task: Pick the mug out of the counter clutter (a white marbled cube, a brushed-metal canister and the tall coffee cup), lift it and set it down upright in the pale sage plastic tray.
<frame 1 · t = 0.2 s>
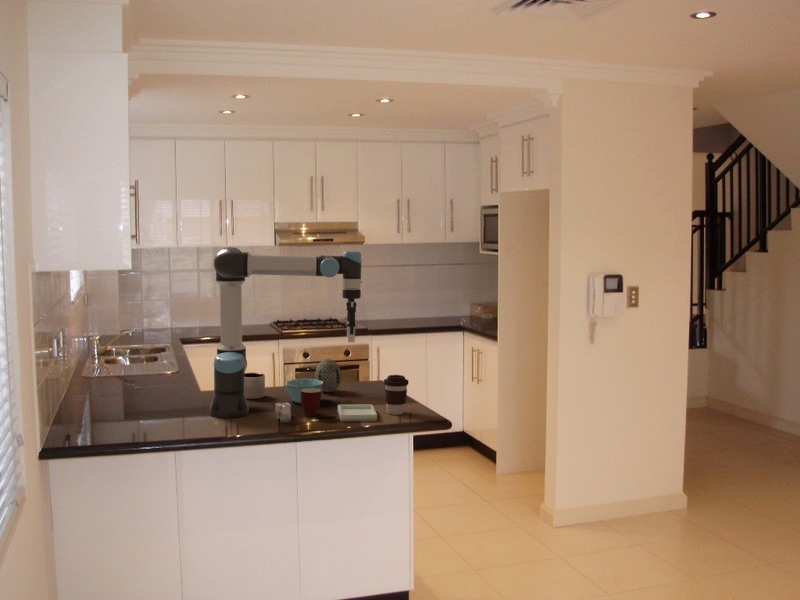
hand: (350, 339, 340), 27 cm above the countertop, fingers open, 13 cm apart
mug: (310, 414, 325), on the countertop
bowl: (304, 401, 348), on the countertop
tray: (356, 415, 325), on the countertop
planter: (252, 397, 353), on the countertop
coffee cup: (395, 413, 331), on the countertop
decorative egg: (327, 392, 366), on the countertop
white marbled cube: (282, 416, 321), on the countertop
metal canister: (285, 421, 314), on the countertop
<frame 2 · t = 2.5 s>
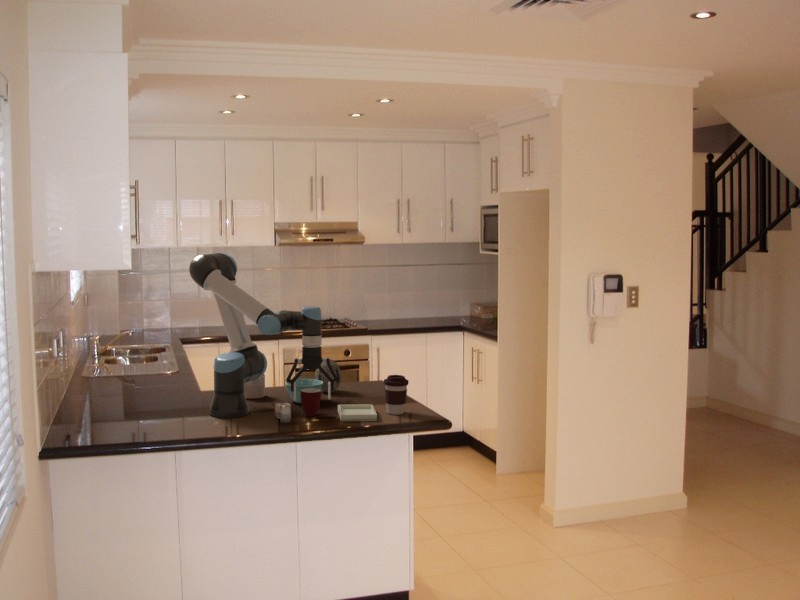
hand: (312, 399, 324), 6 cm above the countertop, fingers open, 13 cm apart
nothing on the countertop moved.
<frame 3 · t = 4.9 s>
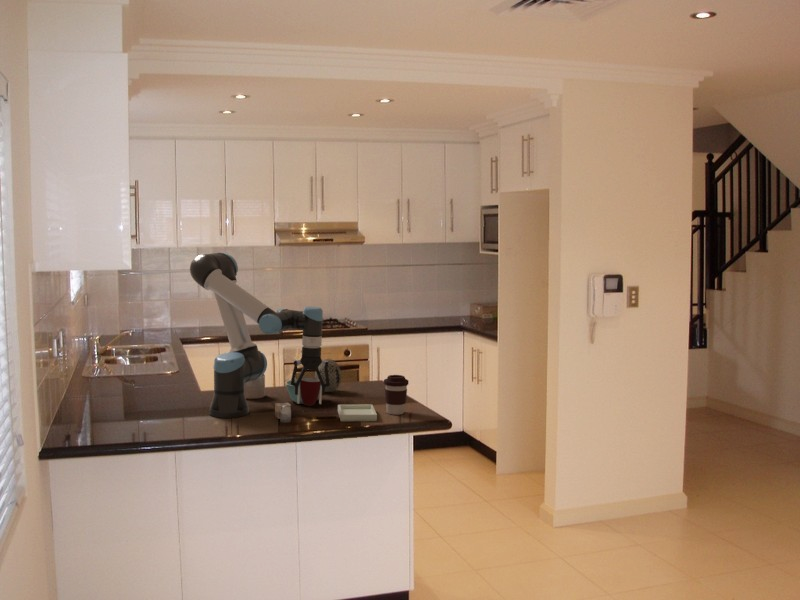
hand: (309, 402, 325), 5 cm above the countertop, fingers closed on mug, 8 cm apart
mug: (309, 404, 325), point 4 cm above the countertop, touching gripper
everything else where it was.
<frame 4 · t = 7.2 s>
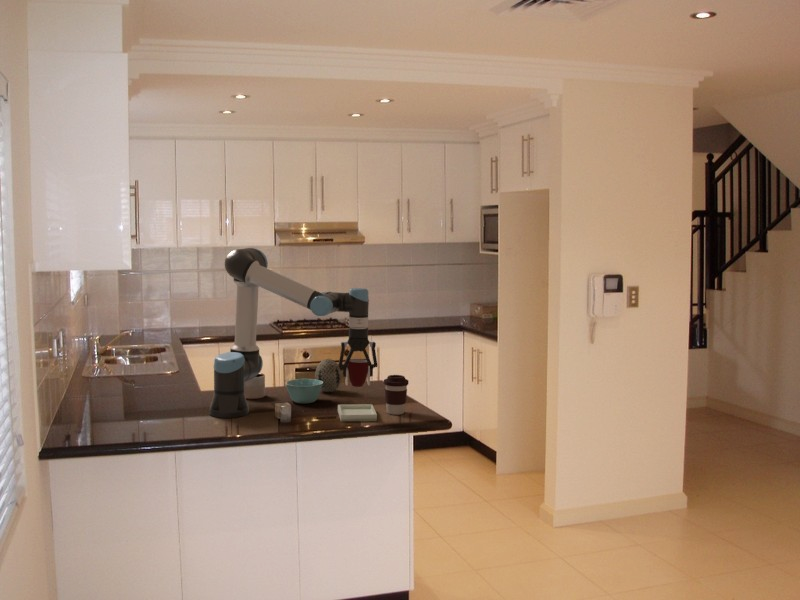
hand: (357, 384, 324), 13 cm above the countertop, fingers closed on mug, 8 cm apart
mug: (357, 385, 324), point 12 cm above the countertop, touching gripper
everything else where it was.
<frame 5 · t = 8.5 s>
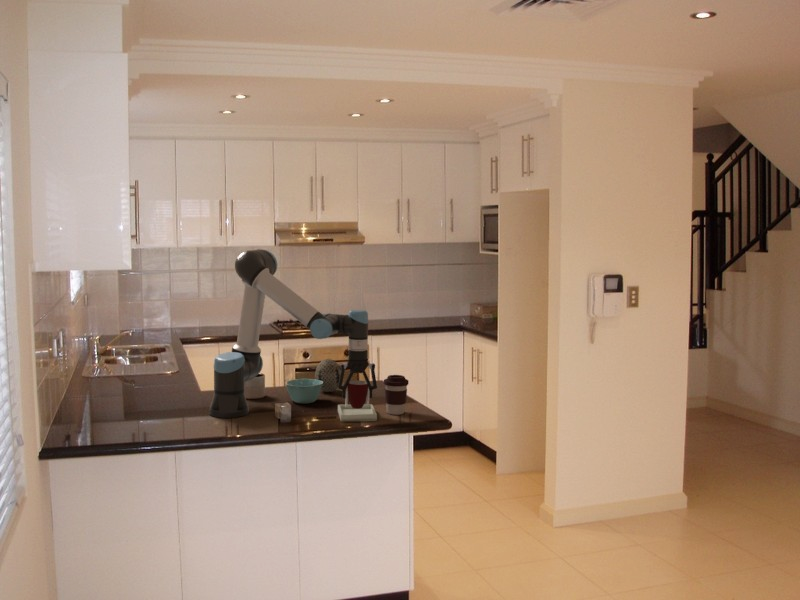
hand: (357, 406, 325), 4 cm above the countertop, fingers closed on mug, 8 cm apart
mug: (357, 407, 325), point 3 cm above the countertop, touching gripper
everything else where it was.
when the fingers open (3 cm above the countertop, at t = 9.6 s): mug drops 1 cm, resting on tray.
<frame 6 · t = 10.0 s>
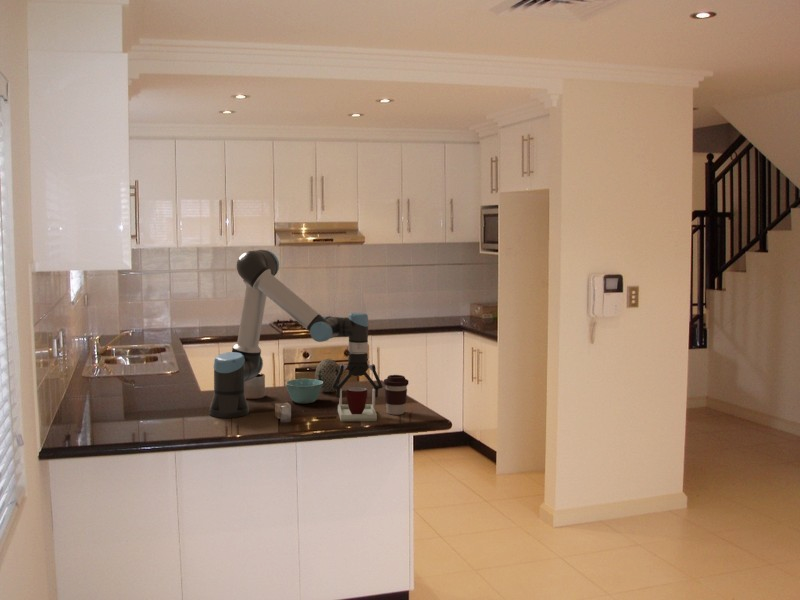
hand: (357, 405, 325), 4 cm above the countertop, fingers open, 12 cm apart
mug: (356, 413, 325), point 1 cm above the countertop, touching tray
everything else where it was.
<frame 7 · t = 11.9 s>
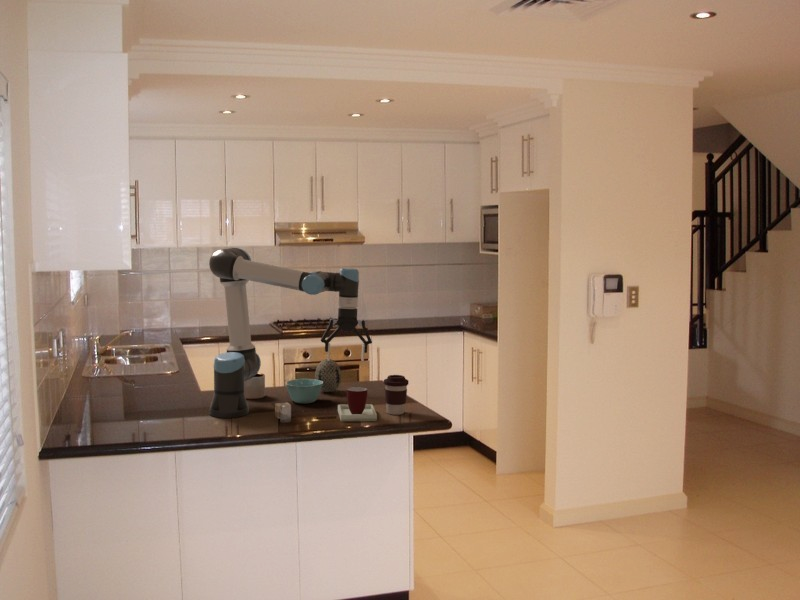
hand: (345, 360, 326), 21 cm above the countertop, fingers open, 13 cm apart
nothing on the countertop moved.
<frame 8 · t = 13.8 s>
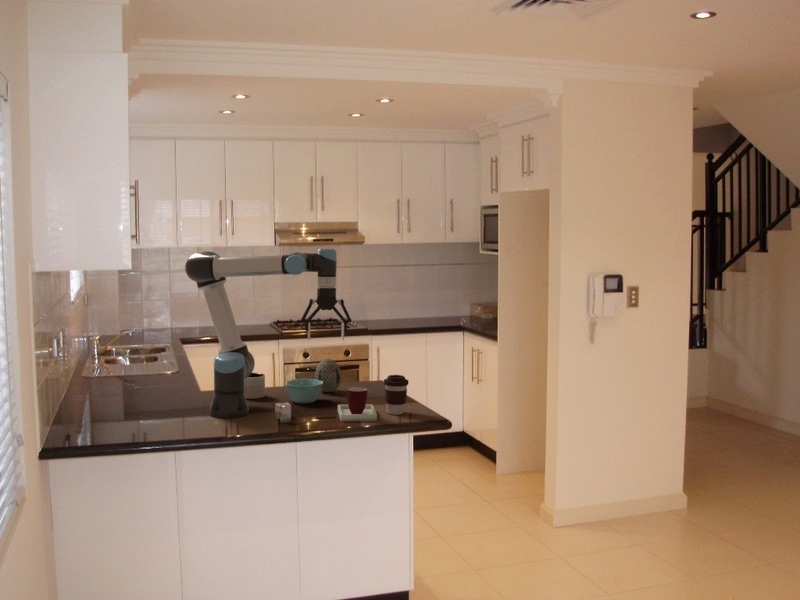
hand: (325, 339, 332), 29 cm above the countertop, fingers open, 13 cm apart
nothing on the countertop moved.
at the end: mug inside the target area on the tray (0.1 cm from its centre), point 0.8 cm above the tray's base; mug touching tray; mug tilted 0° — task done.
